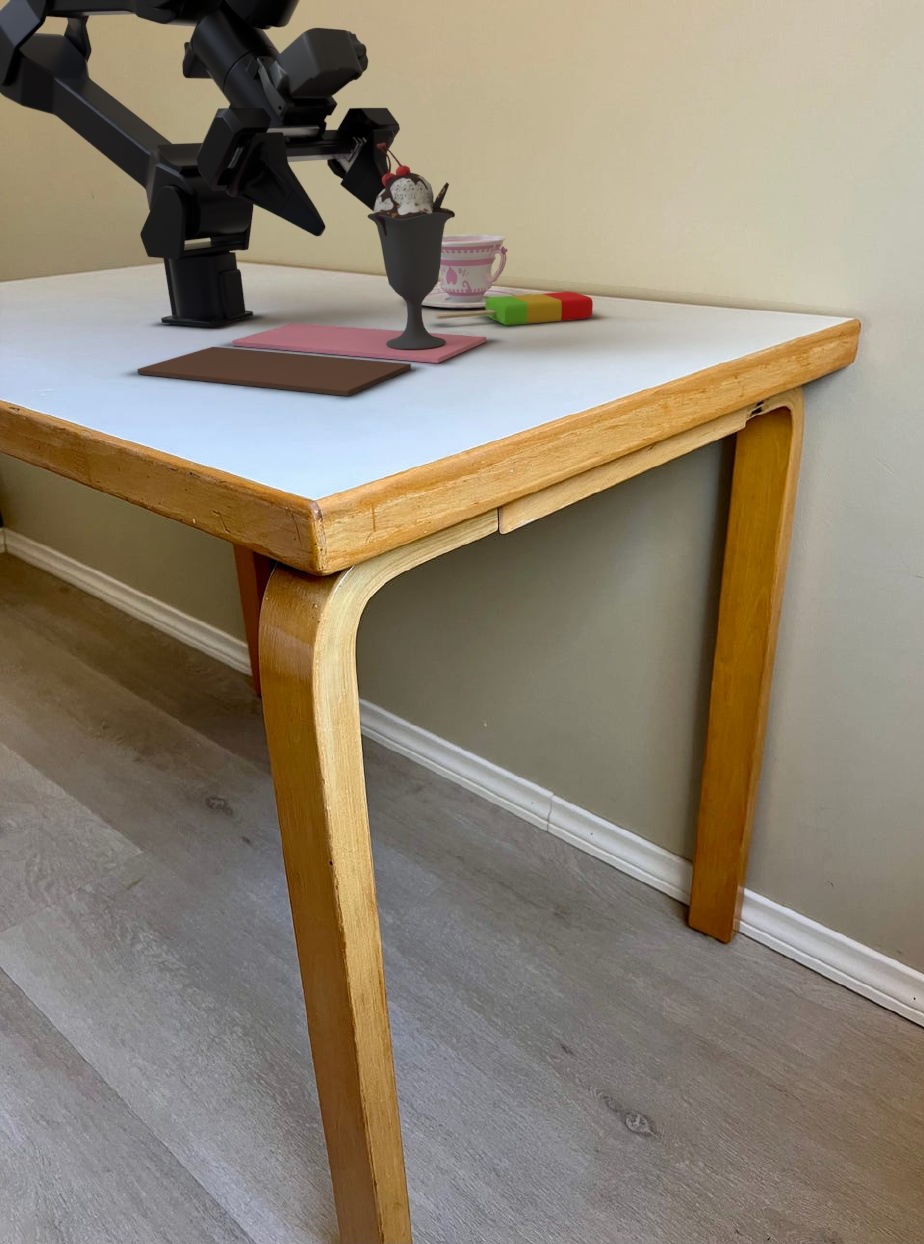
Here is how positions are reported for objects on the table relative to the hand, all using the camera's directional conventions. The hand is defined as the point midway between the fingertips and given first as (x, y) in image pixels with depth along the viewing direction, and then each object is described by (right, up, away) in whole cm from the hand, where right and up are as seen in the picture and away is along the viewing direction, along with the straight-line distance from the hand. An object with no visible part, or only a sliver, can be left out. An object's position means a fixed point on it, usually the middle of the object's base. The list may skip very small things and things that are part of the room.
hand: (361, 226), depth 79 cm
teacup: (+9, +2, +23) cm, 25 cm away
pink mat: (-1, -8, +4) cm, 9 cm away
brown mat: (-6, -13, -5) cm, 15 cm away
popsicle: (+13, -4, +13) cm, 18 cm away
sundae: (+4, -9, +1) cm, 10 cm away
